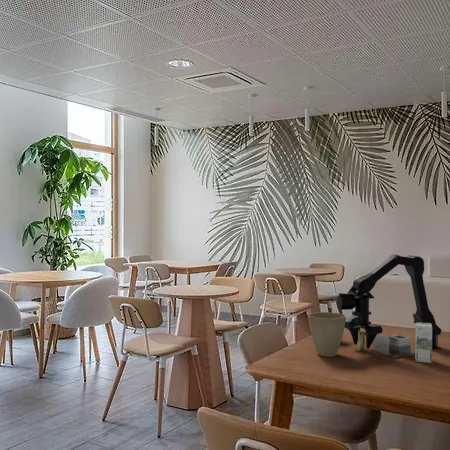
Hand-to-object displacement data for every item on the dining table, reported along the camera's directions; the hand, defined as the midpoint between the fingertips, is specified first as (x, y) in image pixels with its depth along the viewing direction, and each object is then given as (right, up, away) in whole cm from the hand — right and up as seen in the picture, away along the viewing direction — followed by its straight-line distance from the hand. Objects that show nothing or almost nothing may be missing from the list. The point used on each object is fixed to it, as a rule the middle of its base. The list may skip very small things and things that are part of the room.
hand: (361, 346), depth 211 cm
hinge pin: (0, -2, 0) cm, 2 cm away
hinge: (+13, -2, -4) cm, 14 cm away
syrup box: (+20, -2, -16) cm, 25 cm away
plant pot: (-16, -2, -6) cm, 17 cm away
